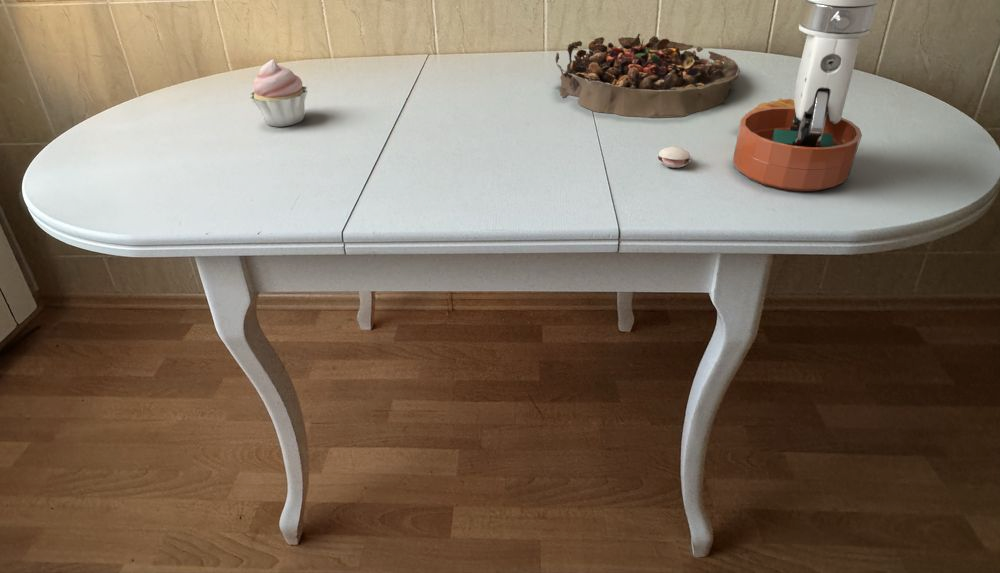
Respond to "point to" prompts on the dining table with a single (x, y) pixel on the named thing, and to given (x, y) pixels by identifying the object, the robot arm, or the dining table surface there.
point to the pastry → (775, 104)
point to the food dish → (646, 78)
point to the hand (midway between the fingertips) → (797, 162)
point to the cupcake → (279, 95)
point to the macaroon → (674, 157)
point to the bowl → (793, 152)
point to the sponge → (790, 136)
